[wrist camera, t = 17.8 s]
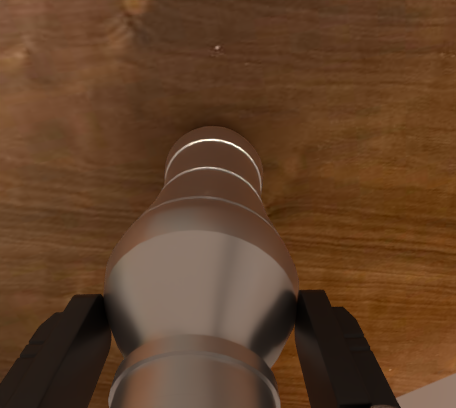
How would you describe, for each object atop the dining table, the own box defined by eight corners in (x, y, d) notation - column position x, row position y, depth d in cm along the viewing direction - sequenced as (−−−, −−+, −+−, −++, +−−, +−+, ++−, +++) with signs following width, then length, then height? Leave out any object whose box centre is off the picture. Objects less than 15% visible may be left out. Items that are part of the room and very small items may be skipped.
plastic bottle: (228, 217, 26) (240, 583, 8) (154, 173, 25) (-41, 508, 6) (276, 153, 24) (445, 456, 6) (199, 99, 22) (100, 292, 4)
